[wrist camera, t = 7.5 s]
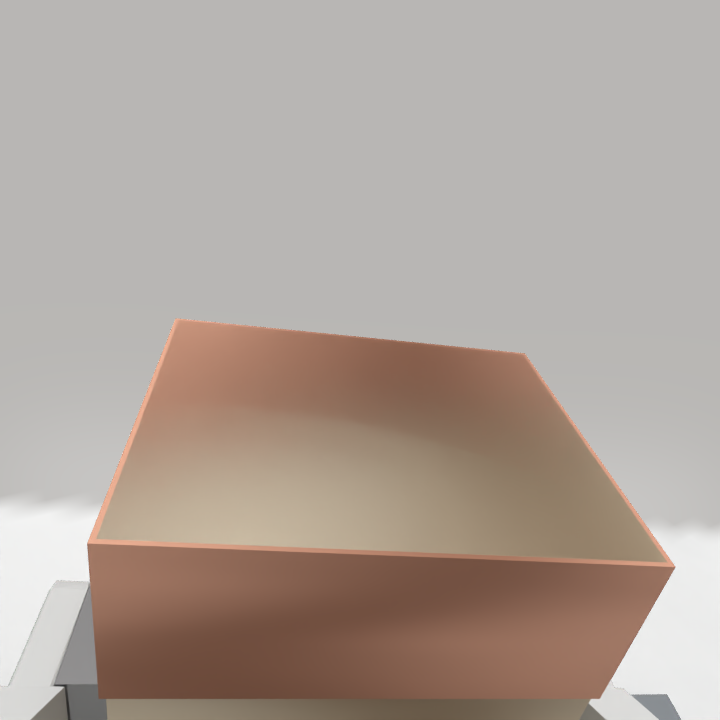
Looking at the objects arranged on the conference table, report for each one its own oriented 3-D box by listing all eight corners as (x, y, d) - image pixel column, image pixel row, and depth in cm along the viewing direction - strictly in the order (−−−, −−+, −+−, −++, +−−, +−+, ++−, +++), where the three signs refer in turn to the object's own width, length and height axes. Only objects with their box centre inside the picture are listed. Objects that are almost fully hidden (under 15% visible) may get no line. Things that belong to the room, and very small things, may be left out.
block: (121, 1008, 9) (87, 543, 5) (168, 737, 13) (176, 318, 8) (436, 983, 10) (675, 566, 6) (398, 735, 14) (524, 353, 9)
